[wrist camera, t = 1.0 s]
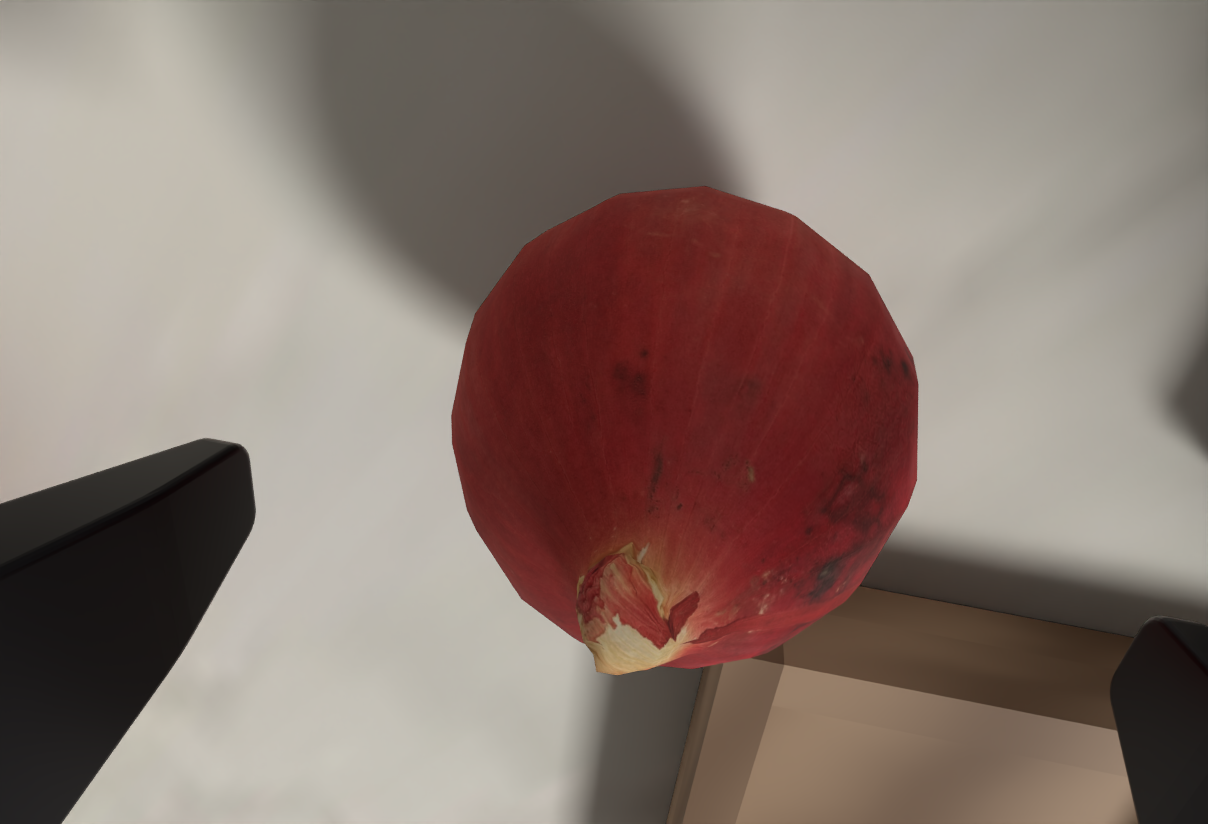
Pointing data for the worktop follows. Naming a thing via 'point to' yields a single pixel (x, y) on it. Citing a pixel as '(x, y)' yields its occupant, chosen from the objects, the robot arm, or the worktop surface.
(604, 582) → the onion
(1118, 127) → the worktop surface
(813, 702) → the tray
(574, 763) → the worktop surface
